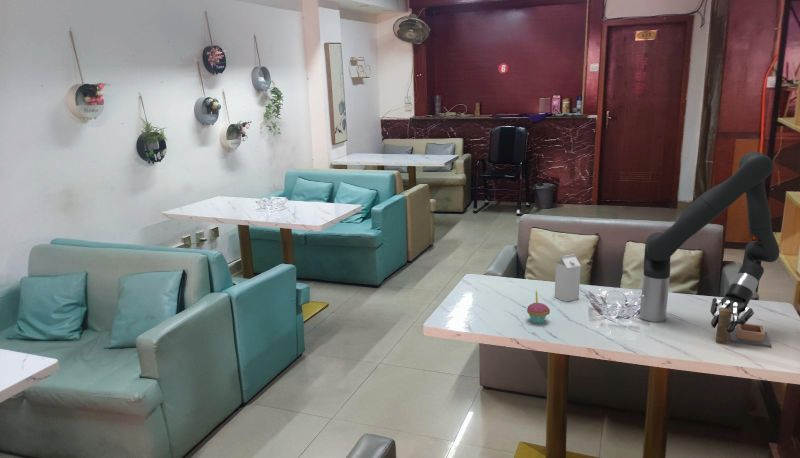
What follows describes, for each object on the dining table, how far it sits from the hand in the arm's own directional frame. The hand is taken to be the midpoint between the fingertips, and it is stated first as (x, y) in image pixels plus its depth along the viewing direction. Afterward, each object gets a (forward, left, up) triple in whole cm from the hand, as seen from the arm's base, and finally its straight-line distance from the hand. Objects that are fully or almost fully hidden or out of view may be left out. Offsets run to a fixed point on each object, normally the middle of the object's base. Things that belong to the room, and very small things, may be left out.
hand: (720, 328), depth 208 cm
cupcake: (-62, -4, -6) cm, 62 cm away
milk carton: (-56, +25, -6) cm, 62 cm away
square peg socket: (+10, +9, -5) cm, 14 cm away
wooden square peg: (+1, +2, -5) cm, 6 cm away
